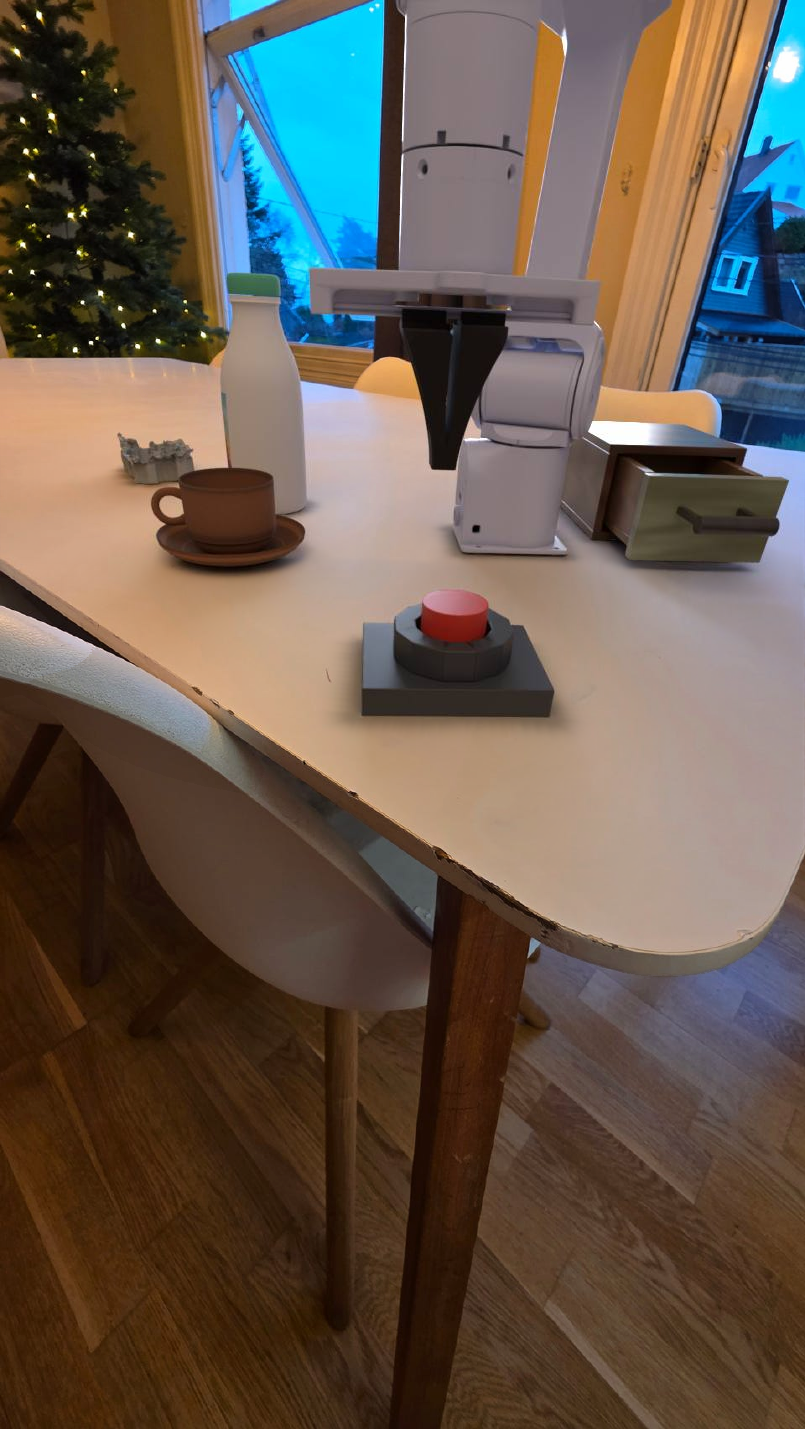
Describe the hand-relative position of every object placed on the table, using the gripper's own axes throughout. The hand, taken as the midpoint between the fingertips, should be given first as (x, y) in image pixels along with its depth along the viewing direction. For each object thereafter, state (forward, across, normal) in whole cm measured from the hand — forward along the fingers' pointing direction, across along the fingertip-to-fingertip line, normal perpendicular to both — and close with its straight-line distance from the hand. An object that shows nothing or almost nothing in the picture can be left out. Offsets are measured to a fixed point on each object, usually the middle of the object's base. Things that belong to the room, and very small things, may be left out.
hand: (442, 466), depth 37 cm
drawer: (+9, +23, +16) cm, 30 cm away
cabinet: (+10, +24, +27) cm, 37 cm away
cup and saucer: (+10, -16, +14) cm, 23 cm away
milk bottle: (+11, -14, +29) cm, 34 cm away
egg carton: (+11, -29, +42) cm, 52 cm away
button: (+7, 0, -7) cm, 10 cm away
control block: (+10, 0, -7) cm, 13 cm away
